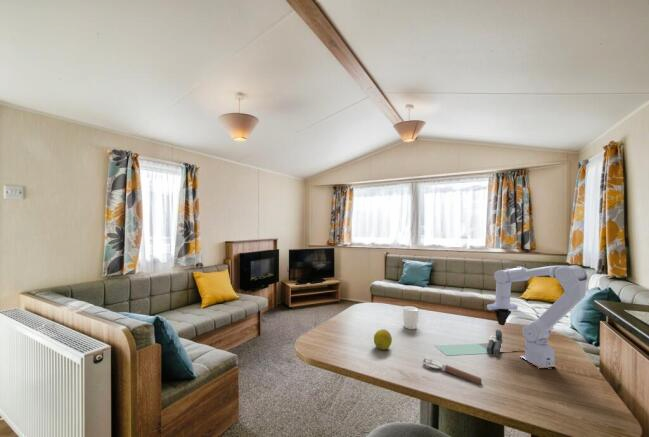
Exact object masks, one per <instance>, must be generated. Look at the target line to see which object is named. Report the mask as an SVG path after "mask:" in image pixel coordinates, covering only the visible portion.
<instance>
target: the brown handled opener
mask: <svg viewBox="0 0 649 437" xmlns="http://www.w3.org/2000/svg"><path fill="white" fill-rule="evenodd" d="M427 361H429V363H428V362H427ZM422 363H423V365H424V366H426V367H430V368H433V369H436V370H437V369H441V370H442V372H444V373H445V372H446V373H449V374H451V375H454V376H457V377H459V378H462V379H463V380H467V381H468V382H472V383H473V384H476V383H477V384H476V385H479V384H480V385H482V378H481V377H479V376H476V375H475V374H474V375H473V374H471V373H468V372H466V371H464V370H460V369H458V368H456V367H453V366H451V365H448V364H446V363H441V362H440V361H438V360H436V359H433V358H431V357H430V356H425V358H423V360H422Z"/></svg>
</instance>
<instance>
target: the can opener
mask: <svg viewBox="0 0 649 437" xmlns="http://www.w3.org/2000/svg"><path fill="white" fill-rule="evenodd" d="M494 343H495V346H494ZM502 343H503V332H502V331H501V329H495V335H490V337H489V339H488V346H487V353H488V355H491V354H493V355H494V356H496V357H498V356H499V354H500V353H499V351H500V348H501V344H502ZM493 347H494V349H493ZM492 351H493V353H492Z"/></svg>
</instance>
